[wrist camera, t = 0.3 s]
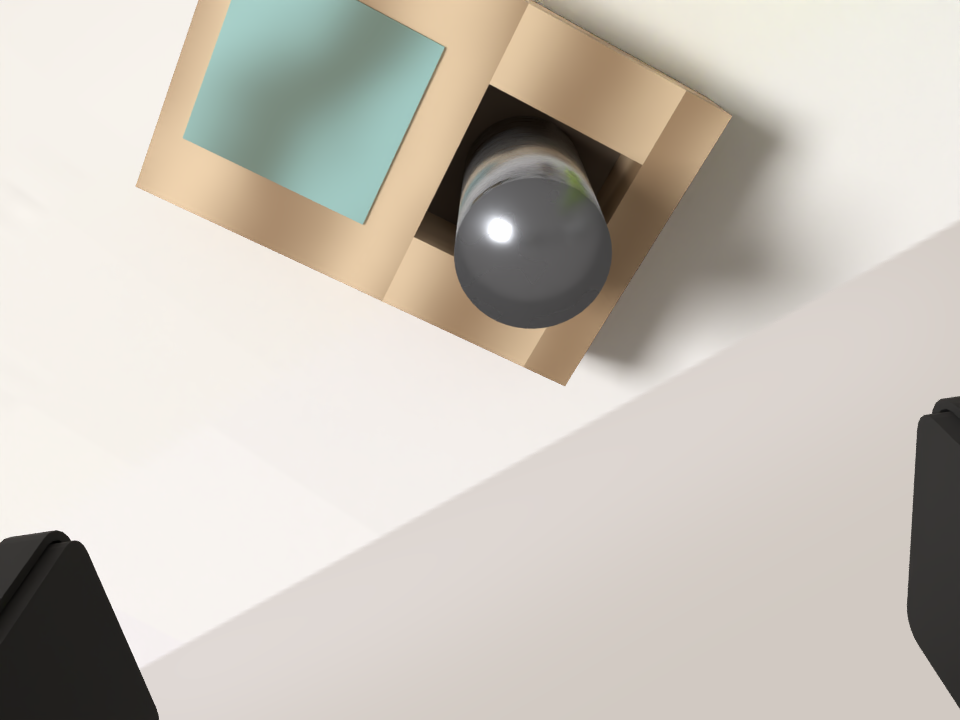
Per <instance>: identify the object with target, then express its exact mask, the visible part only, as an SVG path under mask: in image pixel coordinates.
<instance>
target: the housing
mask: <svg viewBox="0 0 960 720" xmlns="http://www.w3.org/2000/svg"><path fill="white" fill-rule="evenodd" d="M514 116H533V117H538V118H541V119H545V120H547V121H549V122H551V123H553V124H555V125H556V126H558V127H559V128H560V129H561V130H563V131H564V132H565V133H566V134H567V136H568V137H569V138H570V139H571V141H572V142H573V144H574V146H575V147H576V149H577V152H578V154H579V157H580V159H581V162H582V164H583V167H584V169H585V172H586V174H587V177H588V179H589V182H590V184H591V187H592V189H593V192H594V194H595V197H596V199H597V202H598V204H599V207H600V209H601V212H602V214H603V217H604V219H605V222H606V224H607V227H608V230H609V233H610V238H611V243H612V260H611V266H610V271H609V274H608V277H607V280H606V282H605V284H604V286H603V288H602V290H601V291H600V293H599V294H598V296H597V297H596V298H595V300H594V301H593V302H592V303H591V304H590V305H589V306H588V307H587V308H586V309H584V310H583V311H582V312H581V313H579V314H578V315H576V316H575V317H573V318H571V319H569V320H567V321H565V322H563V323H560V324H558V325H555V326H550V327H546V328H538V329H524V328H517V327H512V326H508V325H505V324H502V323H500V322H497V321H495V320H494V319H492V318H490V317H488V316H487V315H485V314H484V313H483V312H481V311H480V310H479V309H478V308H477V307H476V306H475V305H474V304H473V303H472V302H471V301H470V300H469V298H468V297H467V296H466V294H465V292H464V291H463V289H462V287H461V285H460V283H459V280H458V277H457V274H456V270H455V263H454V247H455V239H456V230H457V222H458V214H459V206H460V198H461V190H462V182H463V174H464V166H465V161H466V158H467V155H468V152H469V150H470V148H471V146H472V145H473V143H474V141H475V140H476V139H477V137H478V136H479V135H480V134H481V133H482V132H483V131H484V130H485V129H487V128H488V127H489V126H491V125H493V124H494V123H496V122H498V121H500V120H503V119H506V118H509V117H514ZM731 117H732V115H730V114H729V113H727V112H726V111H725V110H723V109H722V108H721V107H719V106H718V105H717V104H715V103H714V102H713V101H711V100H710V99H708V98H707V97H705V96H703V95H702V94H700V93H698V92H696V91H694V90H693V89H691V88H689V87H687V86H685V85H684V84H682V83H680V82H678V81H676V80H675V79H673V78H671V77H669V76H667V75H666V74H664V73H662V72H660V71H658V70H657V69H655V68H653V67H651V66H649V65H648V64H646V63H644V62H642V61H640V60H639V59H637V58H635V57H633V56H631V55H630V54H628V53H626V52H624V51H622V50H621V49H619V48H617V47H615V46H613V45H611V44H610V43H608V42H606V41H604V40H602V39H601V38H599V37H597V36H595V35H593V34H592V33H590V32H588V31H586V30H584V29H583V28H581V27H579V26H577V25H575V24H574V23H572V22H570V21H568V20H566V19H565V18H563V17H561V16H559V15H557V14H556V13H554V12H552V11H550V10H548V9H547V8H545V7H543V6H541V5H539V4H538V3H536V2H534V1H532V0H199V1H198V4H197V6H196V9H195V12H194V15H193V18H192V21H191V24H190V27H189V30H188V33H187V36H186V39H185V42H184V45H183V48H182V51H181V54H180V57H179V60H178V63H177V66H176V69H175V71H174V74H173V77H172V80H171V83H170V86H169V89H168V92H167V95H166V98H165V101H164V104H163V107H162V110H161V113H160V116H159V119H158V122H157V125H156V128H155V131H154V134H153V137H152V139H151V142H150V145H149V148H148V151H147V154H146V157H145V160H144V163H143V166H142V169H141V172H140V175H139V178H138V181H137V184H136V187H138V188H140V189H142V190H144V191H146V192H149V193H151V194H153V195H155V196H157V197H159V198H161V199H164V200H166V201H168V202H170V203H172V204H174V205H176V206H179V207H181V208H183V209H185V210H187V211H189V212H192V213H194V214H196V215H198V216H200V217H202V218H204V219H207V220H209V221H211V222H213V223H215V224H217V225H219V226H222V227H224V228H226V229H228V230H230V231H232V232H235V233H237V234H239V235H241V236H243V237H245V238H247V239H250V240H252V241H254V242H256V243H258V244H260V245H262V246H265V247H267V248H269V249H271V250H273V251H275V252H278V253H280V254H282V255H284V256H286V257H288V258H290V259H293V260H295V261H297V262H299V263H301V264H303V265H305V266H308V267H310V268H312V269H314V270H316V271H318V272H321V273H323V274H325V275H327V276H329V277H331V278H333V279H336V280H338V281H340V282H342V283H344V284H346V285H348V286H351V287H353V288H355V289H357V290H359V291H361V292H364V293H366V294H368V295H370V296H372V297H374V298H376V299H379V300H381V301H383V302H385V303H387V304H389V305H391V306H394V307H396V308H398V309H400V310H402V311H404V312H406V313H409V314H411V315H413V316H415V317H417V318H419V319H422V320H424V321H426V322H428V323H430V324H432V325H434V326H437V327H439V328H441V329H443V330H445V331H447V332H449V333H452V334H454V335H456V336H458V337H460V338H462V339H465V340H467V341H469V342H471V343H473V344H475V345H477V346H480V347H482V348H484V349H486V350H488V351H490V352H492V353H495V354H497V355H499V356H501V357H503V358H505V359H508V360H510V361H512V362H514V363H516V364H518V365H520V366H523V367H525V368H527V369H529V370H531V371H533V372H535V373H538V374H540V375H542V376H544V377H546V378H548V379H551V380H553V381H555V382H557V383H559V384H561V385H563V386H565V385H566V384H567V382H568V380H569V379H570V377H571V375H572V374H573V372H574V371H575V369H576V367H577V366H578V364H579V363H580V361H581V359H582V358H583V356H584V354H585V353H586V351H587V350H588V348H589V346H590V345H591V343H592V342H593V340H594V338H595V337H596V335H597V334H598V332H599V330H600V329H601V327H602V325H603V324H604V322H605V321H606V319H607V317H608V316H609V314H610V313H611V311H612V309H613V308H614V306H615V305H616V303H617V301H618V300H619V298H620V296H621V295H622V293H623V292H624V290H625V288H626V287H627V285H628V284H629V282H630V280H631V279H632V277H633V275H634V274H635V272H636V271H637V269H638V267H639V266H640V264H641V263H642V261H643V259H644V258H645V256H646V255H647V253H648V251H649V250H650V248H651V246H652V245H653V243H654V242H655V240H656V238H657V237H658V235H659V234H660V232H661V230H662V229H663V227H664V226H665V224H666V222H667V221H668V219H669V217H670V216H671V214H672V213H673V211H674V209H675V208H676V206H677V205H678V203H679V201H680V200H681V198H682V196H683V195H684V193H685V192H686V190H687V188H688V187H689V185H690V184H691V182H692V180H693V179H694V177H695V176H696V174H697V172H698V171H699V169H700V167H701V166H702V164H703V163H704V161H705V159H706V158H707V156H708V155H709V153H710V151H711V150H712V148H713V147H714V145H715V143H716V142H717V140H718V138H719V137H720V135H721V134H722V132H723V130H724V129H725V127H726V126H727V124H728V122H729V121H730V119H731Z"/></svg>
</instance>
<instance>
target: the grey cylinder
mask: <svg viewBox="0 0 960 720" xmlns="http://www.w3.org/2000/svg"><path fill="white" fill-rule="evenodd" d="M611 260H612V243H611V238H610V233H609V230H608V227H607V224H606V222H605V219H604V217H603V214H602V212H601V209H600V207H599V204H598V202H597V199H596V197H595V194H594V192H593V189H592V187H591V184H590V182H589V179H588V177H587V174H586V172H585V169H584V167H583V164H582V162H581V159H580V157H579V154H578V152H577V149H576V147H575V146H574V144H573V142H572V141H571V139H570V138H569V137H568V136H567V134H566V133H565V132H564V131H563V130H561V129H560V128H559V127H558V126H556V125H555V124H553V123H551V122H549V121H547V120H545V119H541V118H538V117H533V116H514V117H509V118H506V119H503V120H500V121H498V122H496V123H494V124H493V125H491V126H489V127H488V128H487V129H485V130H484V131H483V132H482V133H481V134H480V135H479V136H478V137H477V139H476V140H475V141H474V143H473V145H472V146H471V148H470V150H469V152H468V155H467V158H466V161H465V166H464V174H463V182H462V190H461V198H460V206H459V214H458V222H457V230H456V239H455V247H454V263H455V270H456V274H457V277H458V280H459V283H460V285H461V287H462V289H463V291H464V292H465V294H466V296H467V297H468V298H469V300H470V301H471V302H472V303H473V304H474V305H475V306H476V307H477V308H478V309H479V310H480V311H481V312H483V313H484V314H485V315H487V316H488V317H490V318H492V319H494V320H495V321H497V322H500V323H502V324H505V325H508V326H512V327H517V328H524V329H538V328H546V327H550V326H555V325H558V324H560V323H563V322H565V321H567V320H569V319H571V318H573V317H575V316H576V315H578V314H579V313H581V312H582V311H583V310H584V309H586V308H587V307H588V306H589V305H590V304H591V303H592V302H593V301H594V300H595V298H596V297H597V296H598V294H599V293H600V291H601V290H602V288H603V286H604V284H605V282H606V280H607V277H608V274H609V271H610V266H611Z"/></svg>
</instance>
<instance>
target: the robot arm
mask: <svg viewBox="0 0 960 720" xmlns="http://www.w3.org/2000/svg"><path fill="white" fill-rule="evenodd" d="M908 582H909V583H908V598H907V614H908V620H909V624H910V628H911V631H912V633H913V636H914V638H915V640H916V642H917V643H918V645H919V647H920V648H921V650H922V651H923V653H924V654H925V656H926V657H927V659H928V661H929V662H930V664H931V665H932V667H933V668H934V670H935V671H936V673H937V674H938V676H939V677H940V679H941V680H942V682H943V684H944V685H945V687H946V688H947V690H948V691H949V693H950V694H951V696H952V697H953V699H954V700H955V702H956V704H957V705H958V707H959V708H960V396H959V397H952V398H945V399H940V400H939V401H938V402H936V404H935V406H934V408H933V412H932V414H929V415H924V416H923V417H921V418H920V421H919V423H918V428H917V443H916V461H915V478H914V495H913V512H912V530H911V548H910V564H909V581H908ZM0 720H159V716H158V712H157V709H156V706H155V704H154V702H153V700H152V698H151V695H150V693H149V691H148V688H147V686H146V684H145V681H144V679H143V677H142V675H141V672H140V670H139V668H138V666H137V663H136V661H135V659H134V656H133V654H132V652H131V650H130V647H129V645H128V643H127V641H126V638H125V636H124V634H123V631H122V629H121V627H120V625H119V622H118V620H117V618H116V616H115V613H114V611H113V609H112V606H111V604H110V602H109V600H108V597H107V595H106V593H105V591H104V588H103V586H102V584H101V581H100V579H99V577H98V575H97V572H96V570H95V568H94V566H93V563H92V561H91V559H90V556H89V554H88V552H87V550H86V548H85V547H84V545H83V544H82V543H80V542H79V541H71V540H70V539H69V537H68V536H67V535H66V534H64V533H63V532H61V531H57V530H55V531H48V532H42V533H35V534H28V535H22V536H15V537H10V538H6V539H4V540H3V541H2V542H1V543H0Z"/></svg>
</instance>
